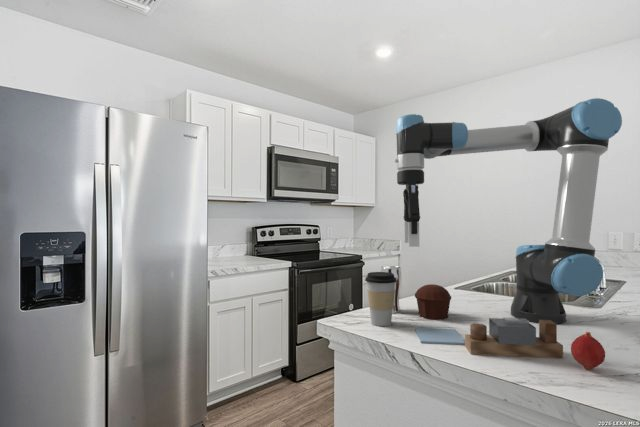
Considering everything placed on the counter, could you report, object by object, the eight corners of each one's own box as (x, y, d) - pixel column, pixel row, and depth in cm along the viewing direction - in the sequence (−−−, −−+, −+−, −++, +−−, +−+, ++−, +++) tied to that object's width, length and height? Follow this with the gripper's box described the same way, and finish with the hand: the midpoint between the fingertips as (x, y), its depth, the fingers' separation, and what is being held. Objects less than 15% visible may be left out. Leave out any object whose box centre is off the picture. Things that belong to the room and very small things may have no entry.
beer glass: (389, 314, 116) (389, 269, 116) (376, 309, 122) (376, 266, 122) (405, 311, 119) (405, 267, 119) (392, 307, 125) (392, 265, 126)
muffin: (434, 310, 122) (434, 281, 122) (459, 318, 112) (459, 286, 112) (407, 314, 116) (406, 284, 117) (431, 323, 106) (430, 290, 107)
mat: (455, 330, 99) (455, 329, 99) (465, 344, 88) (465, 342, 88) (415, 329, 101) (415, 327, 101) (420, 342, 90) (420, 341, 90)
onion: (564, 364, 77) (563, 327, 77) (588, 363, 77) (588, 326, 77) (586, 376, 71) (586, 336, 71) (612, 375, 71) (612, 335, 71)
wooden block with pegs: (551, 350, 85) (551, 319, 85) (563, 358, 80) (562, 325, 80) (464, 346, 87) (464, 316, 87) (470, 354, 82) (470, 322, 83)
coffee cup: (397, 329, 101) (396, 276, 101) (364, 327, 103) (363, 275, 103) (396, 319, 110) (396, 271, 110) (366, 318, 112) (366, 271, 112)
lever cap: (523, 335, 86) (523, 316, 86) (536, 345, 80) (535, 324, 80) (489, 334, 87) (489, 314, 87) (498, 343, 81) (498, 322, 81)
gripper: (394, 175, 114) (395, 241, 113) (400, 164, 89) (401, 248, 89) (418, 175, 112) (419, 241, 112) (430, 163, 88) (431, 248, 88)
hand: (411, 244), depth 100 cm, fingers open, 13 cm apart
